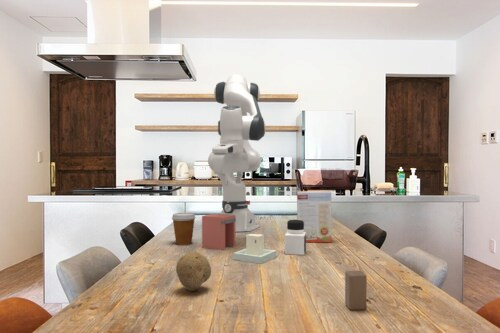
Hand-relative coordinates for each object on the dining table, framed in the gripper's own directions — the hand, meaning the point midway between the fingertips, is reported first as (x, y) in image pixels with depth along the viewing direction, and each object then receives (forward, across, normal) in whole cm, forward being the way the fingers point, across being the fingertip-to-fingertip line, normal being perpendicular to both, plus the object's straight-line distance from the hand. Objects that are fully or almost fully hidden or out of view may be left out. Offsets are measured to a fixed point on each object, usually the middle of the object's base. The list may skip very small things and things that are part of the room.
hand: (231, 184), depth 157 cm
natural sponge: (+23, +48, +19) cm, 56 cm away
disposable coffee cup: (+25, +3, -22) cm, 33 cm away
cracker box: (+26, -28, +23) cm, 44 cm away
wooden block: (+22, +40, +59) cm, 74 cm away
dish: (+24, +10, +16) cm, 30 cm away
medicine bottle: (+25, -5, +24) cm, 35 cm away
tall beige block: (+23, +10, +16) cm, 29 cm away
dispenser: (+25, +1, -6) cm, 25 cm away
